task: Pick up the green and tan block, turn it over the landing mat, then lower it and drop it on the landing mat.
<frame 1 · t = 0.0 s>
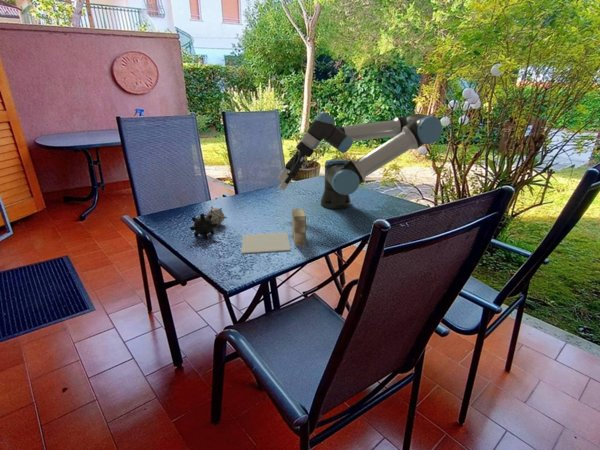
hand: (280, 184, 153), 15 cm above the table, tool tilted 35°, fingers open, 13 cm apart
green and tan block: (298, 241, 133), on the table
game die: (216, 225, 150), on the table
landing mat: (265, 243, 132), on the table
toy ball: (203, 237, 138), on the table
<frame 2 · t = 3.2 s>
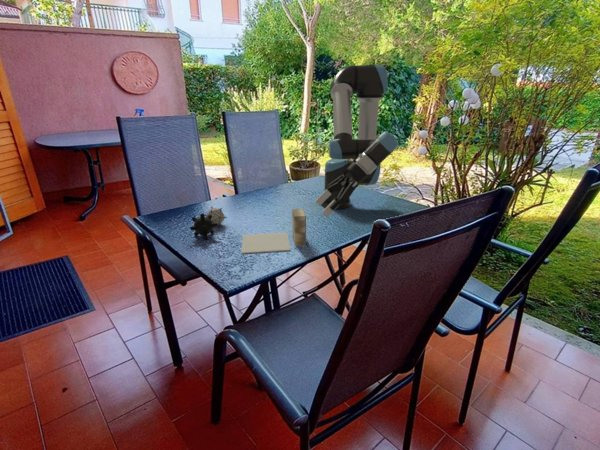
hand: (320, 208, 129), 13 cm above the table, tool tilted 45°, fingers open, 13 cm apart
nothing on the table moved.
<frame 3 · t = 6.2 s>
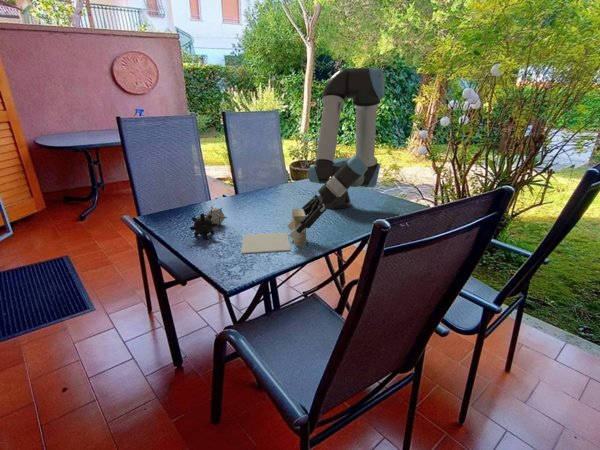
hand: (290, 232, 132), 4 cm above the table, tool tilted 45°, fingers closed on green and tan block, 8 cm apart
green and tan block: (298, 241, 133), on the table, touching gripper
everything else where it was.
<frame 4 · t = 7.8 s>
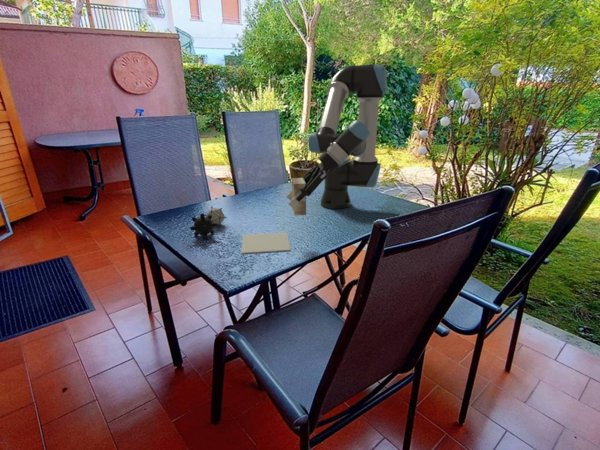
hand: (289, 202, 127), 16 cm above the table, tool tilted 45°, fingers closed on green and tan block, 8 cm apart
green and tan block: (298, 211, 129), point 12 cm above the table, touching gripper
everything else where it was.
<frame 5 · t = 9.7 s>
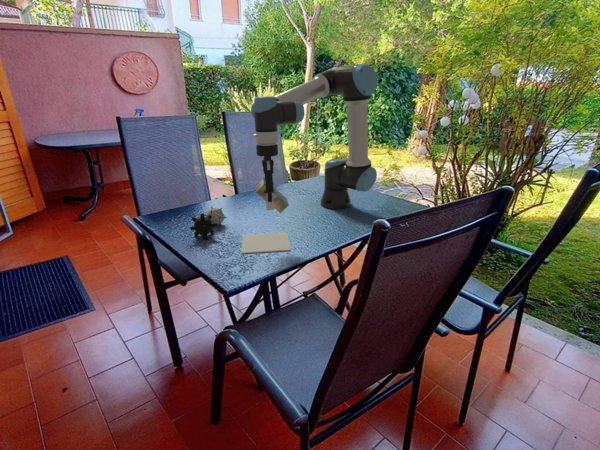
hand: (269, 205, 126), 15 cm above the table, tool pointing down, fingers closed on green and tan block, 8 cm apart
green and tan block: (283, 206, 127), point 15 cm above the table, tilted 45°, touching gripper
everything else where it was.
when the fingers open (3 cm above the table, at t = 12.4 s): green and tan block moves 1 cm and tips over, resting on landing mat.
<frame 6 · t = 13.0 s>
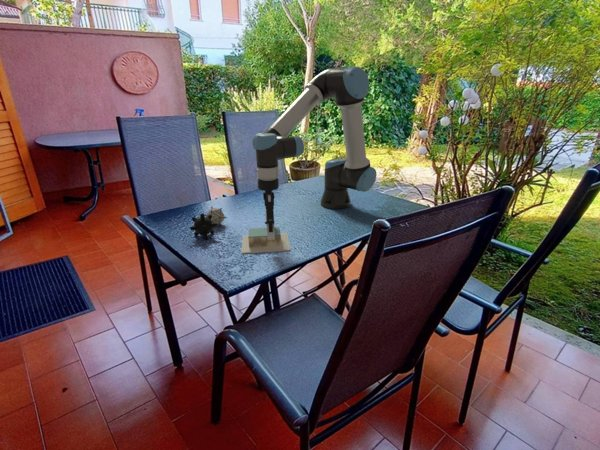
hand: (270, 232, 130), 4 cm above the table, tool pointing down, fingers open, 13 cm apart
green and tan block: (280, 236, 132), point 2 cm above the table, tilted 90°, touching landing mat
everything else where it was.
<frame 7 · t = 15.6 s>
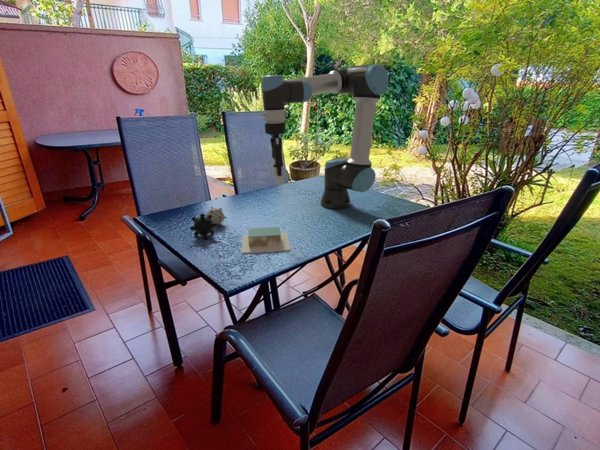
hand: (278, 179, 131), 23 cm above the table, tool pointing down, fingers open, 13 cm apart
nothing on the table moved.
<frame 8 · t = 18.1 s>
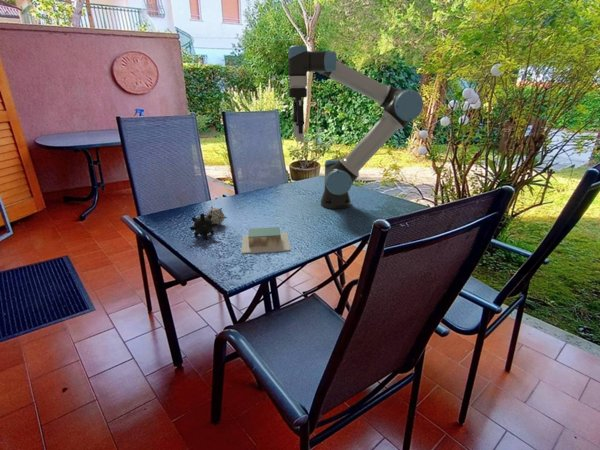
hand: (298, 139, 150), 35 cm above the table, tool pointing down, fingers open, 13 cm apart
nothing on the table moved.
at the end: green and tan block tilted 90°; green and tan block touching landing mat; the gripper is holding nothing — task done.
